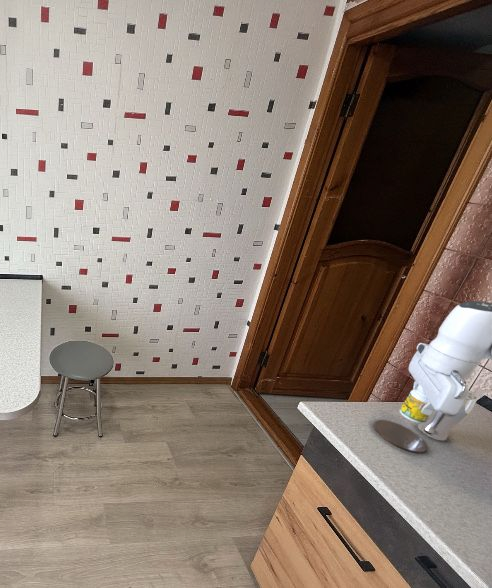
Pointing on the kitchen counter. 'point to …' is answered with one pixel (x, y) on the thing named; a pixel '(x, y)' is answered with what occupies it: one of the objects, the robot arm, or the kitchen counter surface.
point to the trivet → (400, 436)
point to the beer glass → (446, 420)
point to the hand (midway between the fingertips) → (419, 404)
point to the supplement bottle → (415, 406)
